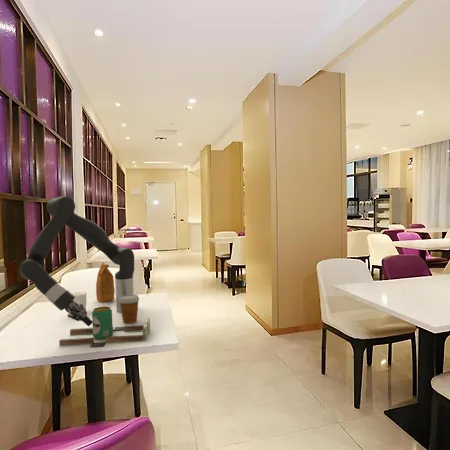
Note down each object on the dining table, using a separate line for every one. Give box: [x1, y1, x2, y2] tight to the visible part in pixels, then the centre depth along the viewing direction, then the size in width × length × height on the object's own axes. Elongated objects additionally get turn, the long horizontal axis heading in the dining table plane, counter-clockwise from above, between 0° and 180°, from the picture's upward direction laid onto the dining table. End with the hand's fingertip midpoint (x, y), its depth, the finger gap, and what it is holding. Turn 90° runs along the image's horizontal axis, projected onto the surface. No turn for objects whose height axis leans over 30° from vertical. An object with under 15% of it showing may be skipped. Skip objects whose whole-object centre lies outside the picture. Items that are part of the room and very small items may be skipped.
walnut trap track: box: [58, 317, 151, 348], centre depth 152 cm, size 22×34×5 cm, turn 95°
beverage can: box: [91, 306, 114, 341], centre depth 152 cm, size 8×8×12 cm
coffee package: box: [95, 262, 116, 303], centre depth 214 cm, size 10×12×22 cm
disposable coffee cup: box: [119, 294, 140, 325], centre depth 171 cm, size 10×10×12 cm
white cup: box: [71, 291, 87, 311], centre depth 190 cm, size 8×8×10 cm
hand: (91, 324), depth 151 cm, fingers closed
